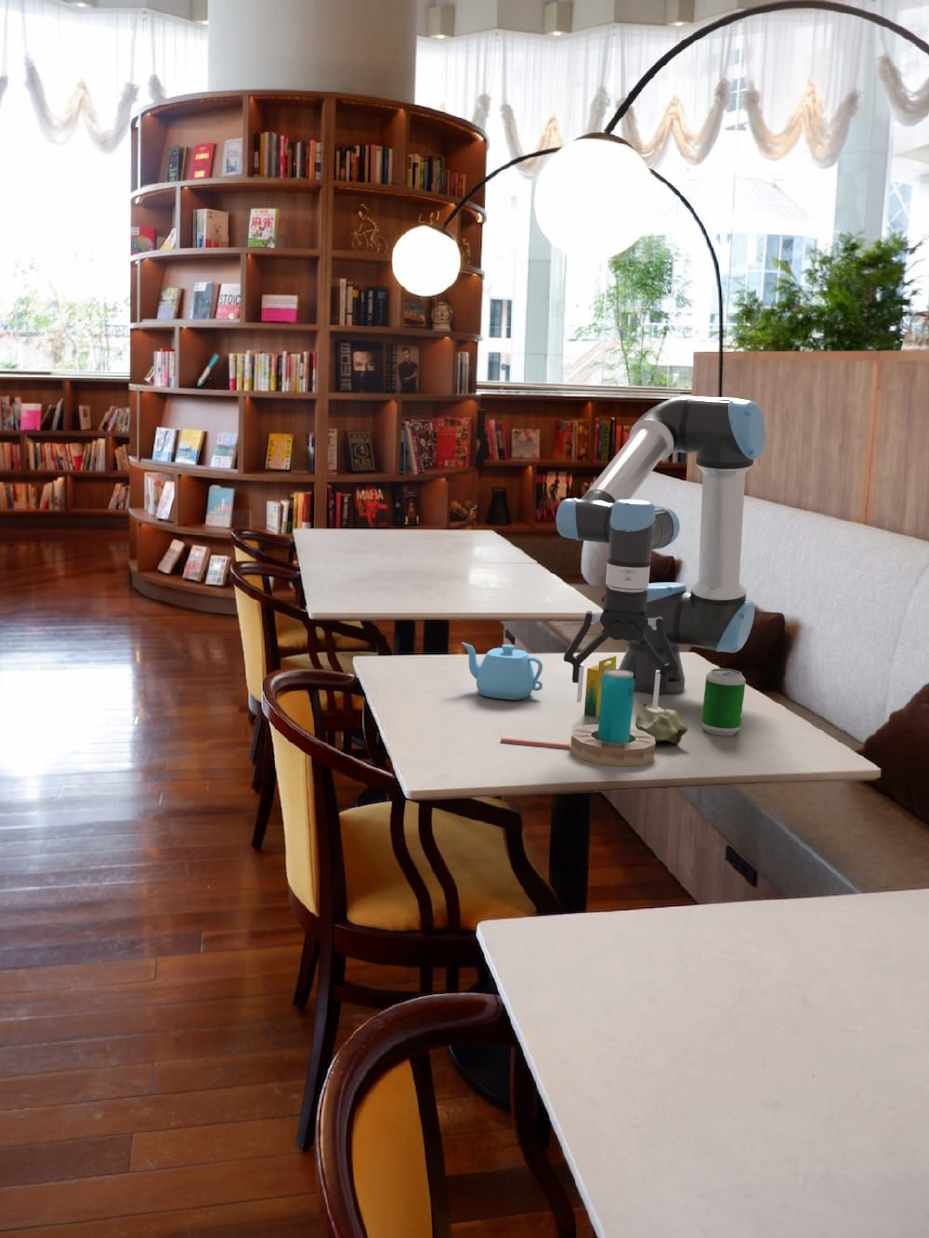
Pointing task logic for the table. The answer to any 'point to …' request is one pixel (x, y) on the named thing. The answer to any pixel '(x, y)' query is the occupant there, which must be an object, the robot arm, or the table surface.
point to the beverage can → (616, 706)
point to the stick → (535, 743)
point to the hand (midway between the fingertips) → (616, 703)
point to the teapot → (505, 673)
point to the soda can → (723, 701)
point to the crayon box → (596, 686)
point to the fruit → (661, 724)
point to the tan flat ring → (612, 747)
